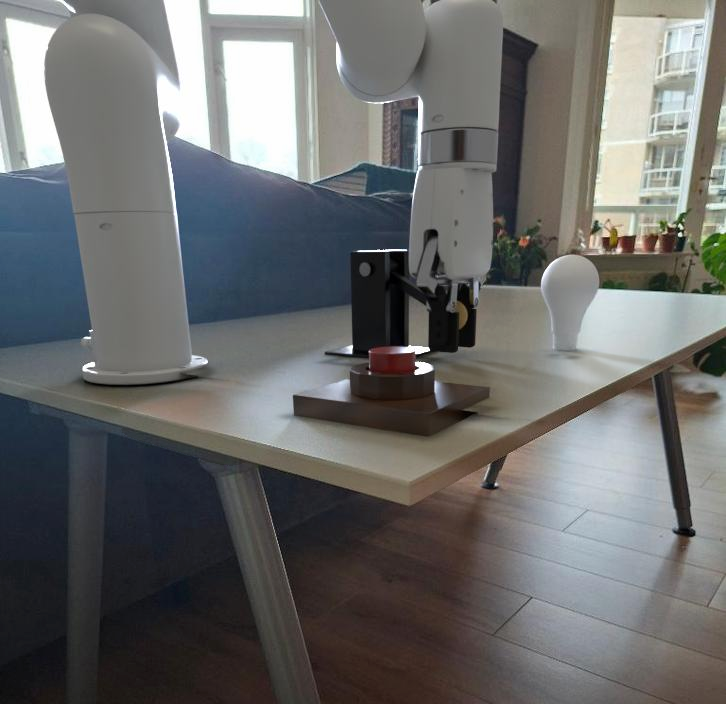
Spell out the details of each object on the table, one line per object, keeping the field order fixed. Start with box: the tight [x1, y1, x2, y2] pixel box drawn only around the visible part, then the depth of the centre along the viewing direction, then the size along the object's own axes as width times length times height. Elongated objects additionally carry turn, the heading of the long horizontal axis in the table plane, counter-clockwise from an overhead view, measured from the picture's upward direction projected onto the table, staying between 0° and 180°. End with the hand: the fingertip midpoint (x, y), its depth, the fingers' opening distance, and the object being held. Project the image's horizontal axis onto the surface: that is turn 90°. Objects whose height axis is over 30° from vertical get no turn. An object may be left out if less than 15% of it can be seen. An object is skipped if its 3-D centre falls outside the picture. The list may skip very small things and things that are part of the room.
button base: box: [292, 361, 491, 438], centre depth 52 cm, size 12×10×4 cm
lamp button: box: [368, 347, 417, 373], centre depth 51 cm, size 4×4×2 cm
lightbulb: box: [540, 254, 600, 352], centre depth 74 cm, size 6×6×11 cm
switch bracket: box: [324, 249, 435, 360], centre depth 74 cm, size 10×8×12 cm
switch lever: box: [390, 258, 468, 330], centre depth 71 cm, size 13×3×3 cm, turn 55°
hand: (452, 347), depth 70 cm, fingers closed on switch lever, 3 cm apart
